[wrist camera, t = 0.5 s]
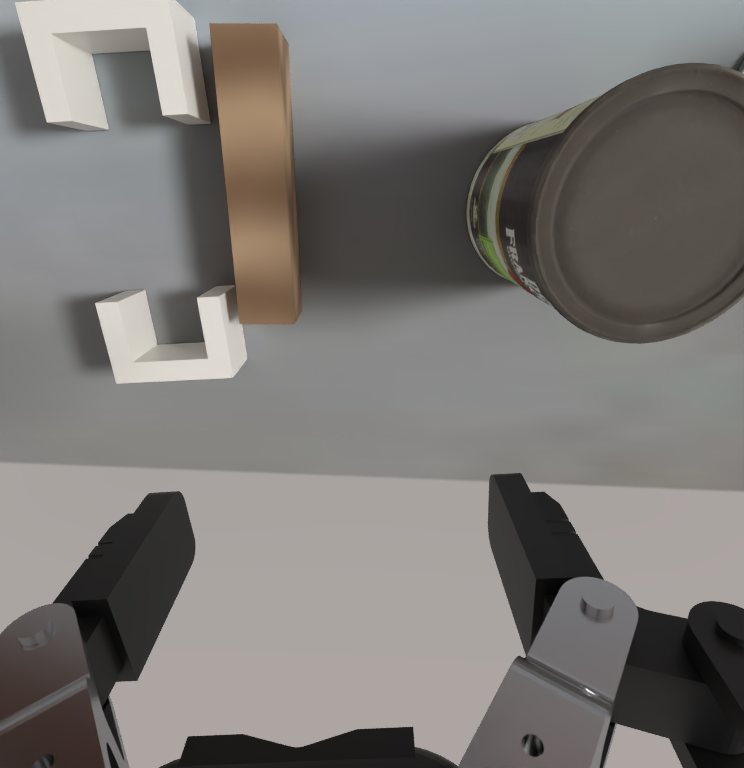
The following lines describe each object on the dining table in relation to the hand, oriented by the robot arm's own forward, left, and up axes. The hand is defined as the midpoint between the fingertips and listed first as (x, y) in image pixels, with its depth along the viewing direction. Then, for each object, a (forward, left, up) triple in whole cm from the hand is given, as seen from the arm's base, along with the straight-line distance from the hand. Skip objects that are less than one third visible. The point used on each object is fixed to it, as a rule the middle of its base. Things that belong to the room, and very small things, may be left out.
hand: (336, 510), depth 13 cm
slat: (-8, -5, -24) cm, 26 cm away
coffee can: (-6, +13, -24) cm, 28 cm away
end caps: (-7, -12, -23) cm, 27 cm away
